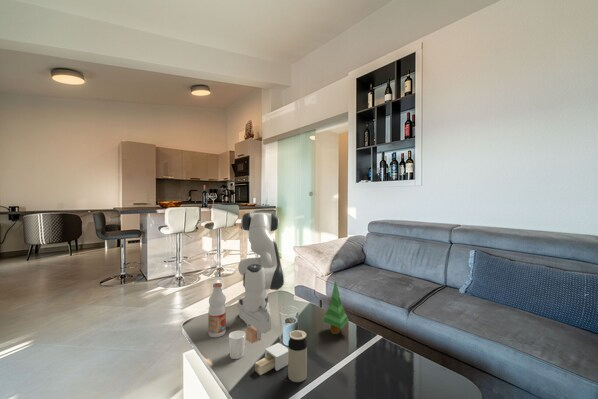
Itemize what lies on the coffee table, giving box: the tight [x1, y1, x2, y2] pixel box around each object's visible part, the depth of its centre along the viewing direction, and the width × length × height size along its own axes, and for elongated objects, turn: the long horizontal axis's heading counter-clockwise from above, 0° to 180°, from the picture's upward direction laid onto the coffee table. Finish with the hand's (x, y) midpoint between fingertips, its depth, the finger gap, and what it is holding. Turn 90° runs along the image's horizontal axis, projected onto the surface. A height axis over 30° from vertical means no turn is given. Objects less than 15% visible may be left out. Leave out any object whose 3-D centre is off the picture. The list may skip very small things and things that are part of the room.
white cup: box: [228, 330, 246, 360], centre depth 126 cm, size 8×8×10 cm
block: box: [245, 326, 262, 344], centre depth 112 cm, size 4×4×4 cm
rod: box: [254, 346, 288, 376], centre depth 119 cm, size 4×18×4 cm, turn 135°
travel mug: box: [287, 329, 308, 383], centre depth 111 cm, size 8×8×18 cm
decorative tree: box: [321, 279, 350, 335], centre depth 149 cm, size 14×16×30 cm
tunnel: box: [264, 342, 288, 371], centre depth 120 cm, size 9×8×6 cm
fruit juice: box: [207, 282, 227, 338], centre depth 147 cm, size 9×9×28 cm
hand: (254, 335), depth 112 cm, fingers closed on block, 4 cm apart
